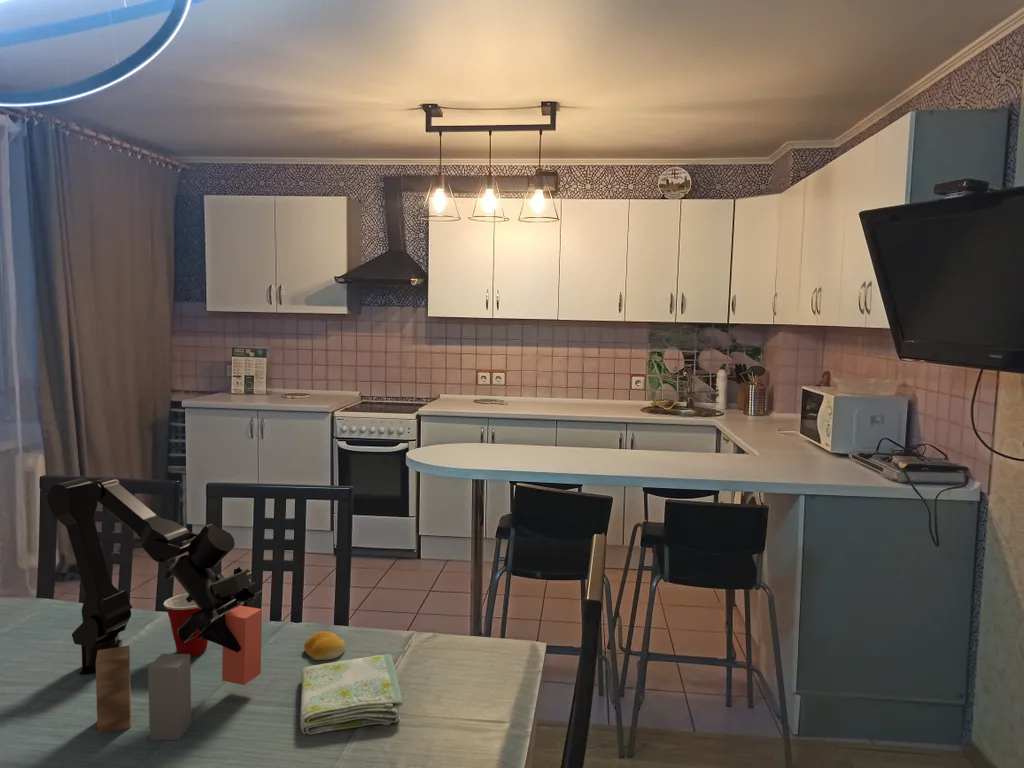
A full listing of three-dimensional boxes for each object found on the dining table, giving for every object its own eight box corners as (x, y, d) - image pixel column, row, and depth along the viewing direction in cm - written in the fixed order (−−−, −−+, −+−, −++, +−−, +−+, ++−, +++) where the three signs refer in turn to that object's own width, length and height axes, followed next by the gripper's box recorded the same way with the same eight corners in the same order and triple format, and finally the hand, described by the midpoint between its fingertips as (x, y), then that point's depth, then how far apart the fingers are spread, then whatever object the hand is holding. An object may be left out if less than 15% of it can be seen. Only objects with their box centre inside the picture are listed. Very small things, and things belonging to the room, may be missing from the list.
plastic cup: (214, 636, 164) (213, 585, 163) (222, 655, 155) (222, 601, 154) (161, 646, 159) (160, 593, 158) (167, 667, 150) (166, 611, 149)
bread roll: (317, 665, 152) (317, 647, 152) (299, 650, 159) (299, 633, 159) (352, 654, 158) (352, 636, 157) (333, 640, 164) (333, 623, 164)
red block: (222, 680, 138) (223, 614, 137) (239, 669, 143) (240, 605, 142) (244, 685, 137) (245, 618, 136) (260, 673, 142) (261, 609, 141)
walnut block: (97, 734, 125) (95, 662, 124) (99, 719, 130) (97, 650, 129) (130, 727, 128) (128, 657, 126) (131, 713, 132) (129, 645, 131)
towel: (299, 740, 126) (298, 712, 125) (301, 681, 146) (301, 657, 146) (403, 727, 130) (404, 700, 130) (392, 672, 151) (392, 648, 150)
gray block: (149, 739, 124) (148, 667, 123) (163, 723, 129) (161, 653, 128) (178, 740, 124) (177, 667, 123) (191, 723, 129) (190, 654, 128)
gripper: (190, 572, 130) (243, 640, 128) (254, 543, 148) (301, 602, 146) (154, 609, 133) (206, 676, 131) (221, 575, 151) (267, 634, 149)
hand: (248, 644), depth 139 cm, fingers closed on red block, 5 cm apart
